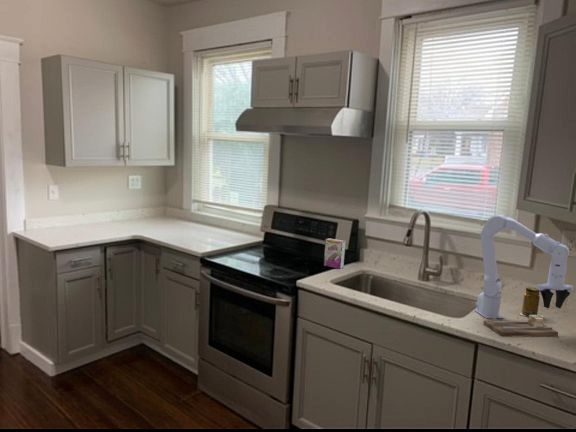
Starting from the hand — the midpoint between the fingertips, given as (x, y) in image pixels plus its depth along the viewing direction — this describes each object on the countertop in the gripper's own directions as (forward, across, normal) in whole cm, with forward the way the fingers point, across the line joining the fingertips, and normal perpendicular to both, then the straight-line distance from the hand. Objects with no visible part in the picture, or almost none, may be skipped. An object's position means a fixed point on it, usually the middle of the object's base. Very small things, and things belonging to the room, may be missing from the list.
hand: (552, 307), depth 176 cm
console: (+9, -13, 0) cm, 16 cm away
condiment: (+10, +4, +16) cm, 19 cm away
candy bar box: (+10, -67, +94) cm, 116 cm away
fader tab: (+8, -6, 0) cm, 10 cm away
